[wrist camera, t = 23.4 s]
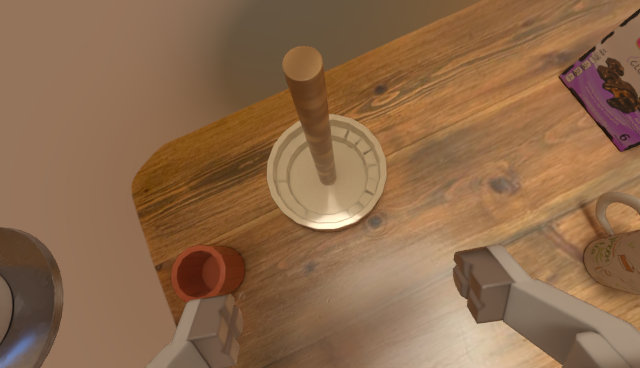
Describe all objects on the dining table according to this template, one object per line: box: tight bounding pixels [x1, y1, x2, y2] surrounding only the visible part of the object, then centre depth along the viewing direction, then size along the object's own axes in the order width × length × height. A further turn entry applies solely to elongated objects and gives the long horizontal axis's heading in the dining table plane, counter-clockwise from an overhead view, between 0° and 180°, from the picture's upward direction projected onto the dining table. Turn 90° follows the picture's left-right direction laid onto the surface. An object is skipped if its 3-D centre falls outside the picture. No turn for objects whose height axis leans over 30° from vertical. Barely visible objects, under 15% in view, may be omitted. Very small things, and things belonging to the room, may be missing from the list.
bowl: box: [267, 114, 387, 232], centre depth 41 cm, size 16×16×5 cm
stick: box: [282, 46, 336, 186], centre depth 30 cm, size 2×2×26 cm
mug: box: [584, 192, 640, 295], centre depth 33 cm, size 8×13×10 cm, turn 19°
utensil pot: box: [171, 245, 245, 302], centre depth 38 cm, size 7×7×7 cm
